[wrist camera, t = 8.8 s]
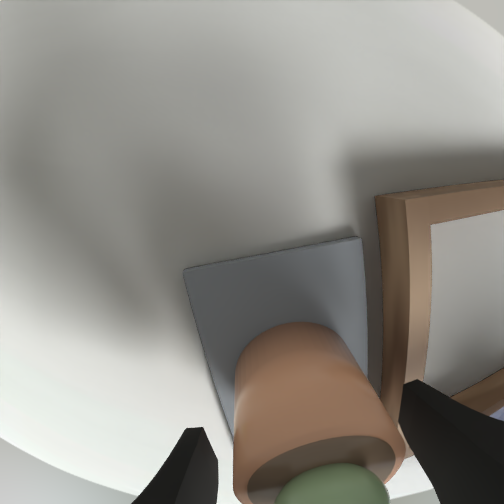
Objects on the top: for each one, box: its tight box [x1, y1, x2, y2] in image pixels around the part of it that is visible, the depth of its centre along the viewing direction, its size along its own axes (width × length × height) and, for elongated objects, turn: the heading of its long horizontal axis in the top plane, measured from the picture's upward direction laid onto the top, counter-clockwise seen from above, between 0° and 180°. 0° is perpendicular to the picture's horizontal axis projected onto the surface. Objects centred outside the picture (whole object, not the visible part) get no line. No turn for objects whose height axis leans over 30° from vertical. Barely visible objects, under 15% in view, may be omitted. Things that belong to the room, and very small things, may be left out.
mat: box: [183, 236, 368, 438], centre depth 13 cm, size 11×7×1 cm, turn 11°
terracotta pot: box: [233, 322, 406, 504], centre depth 8 cm, size 5×5×9 cm
